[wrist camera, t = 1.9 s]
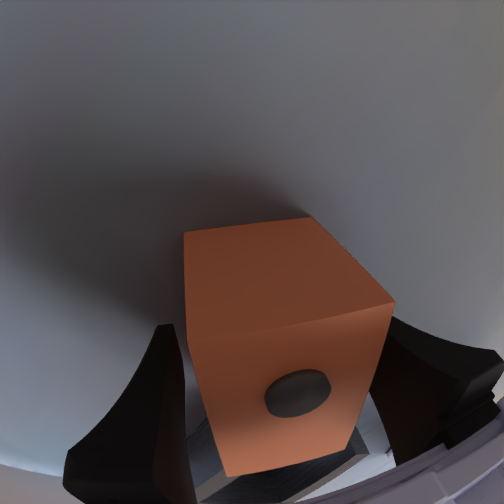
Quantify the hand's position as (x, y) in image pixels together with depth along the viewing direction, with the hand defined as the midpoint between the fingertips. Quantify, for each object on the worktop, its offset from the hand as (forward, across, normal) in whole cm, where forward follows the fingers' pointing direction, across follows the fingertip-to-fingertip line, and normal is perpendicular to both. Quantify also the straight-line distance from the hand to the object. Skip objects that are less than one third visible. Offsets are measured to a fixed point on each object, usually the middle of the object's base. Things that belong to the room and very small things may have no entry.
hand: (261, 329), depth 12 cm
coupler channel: (+1, 0, +12) cm, 13 cm away
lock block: (+2, 0, 0) cm, 2 cm away
